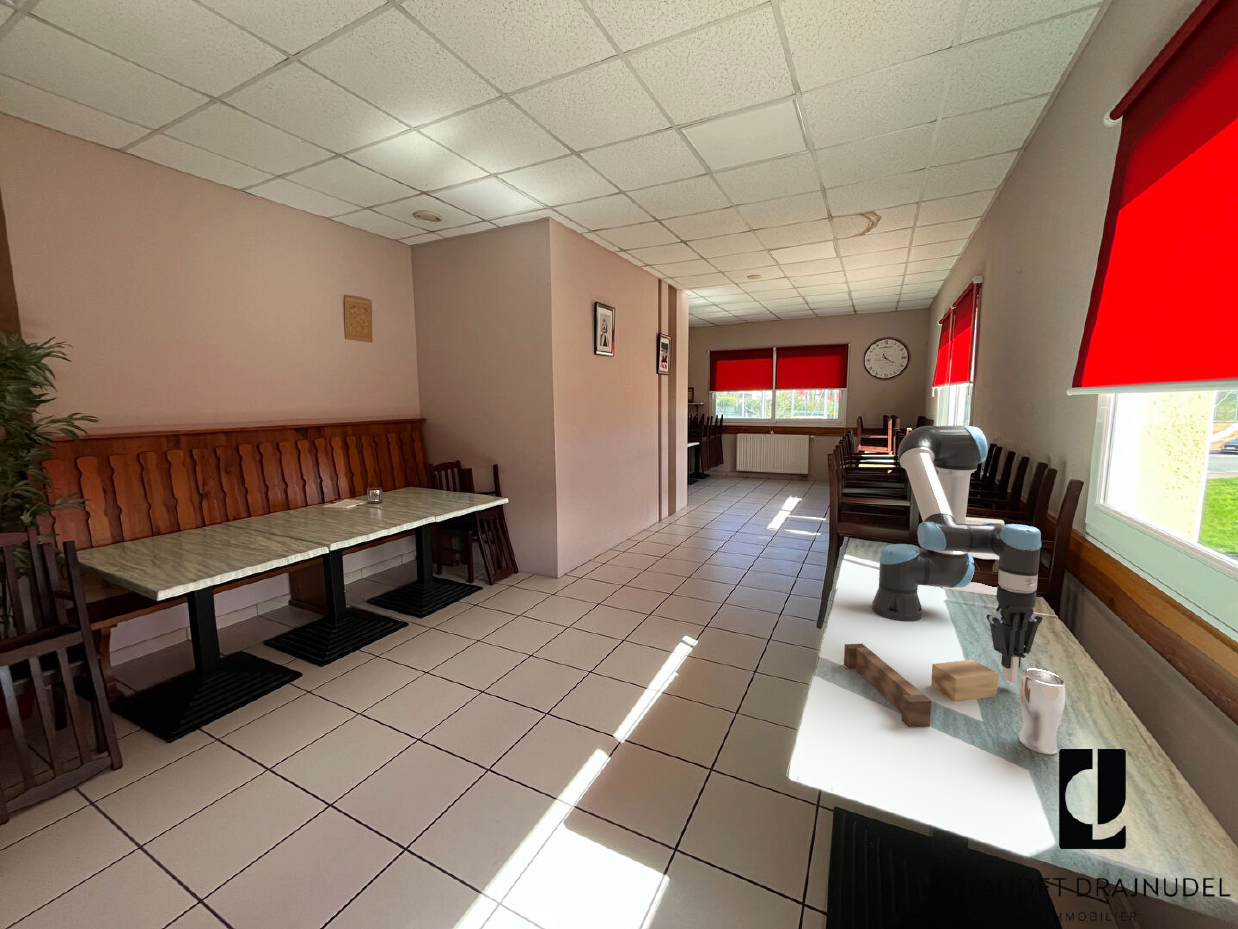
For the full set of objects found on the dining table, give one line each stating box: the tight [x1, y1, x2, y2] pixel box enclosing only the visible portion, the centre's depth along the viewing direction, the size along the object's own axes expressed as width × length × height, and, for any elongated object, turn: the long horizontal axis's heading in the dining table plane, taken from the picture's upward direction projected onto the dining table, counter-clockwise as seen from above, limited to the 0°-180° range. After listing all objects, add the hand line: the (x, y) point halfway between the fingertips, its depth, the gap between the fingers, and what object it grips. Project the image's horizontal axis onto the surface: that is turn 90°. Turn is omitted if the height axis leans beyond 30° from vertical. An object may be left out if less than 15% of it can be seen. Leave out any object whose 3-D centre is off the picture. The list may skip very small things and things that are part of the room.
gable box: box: [941, 516, 1006, 596], centre depth 190 cm, size 22×13×28 cm, turn 62°
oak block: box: [930, 659, 999, 703], centre depth 121 cm, size 7×12×6 cm, turn 100°
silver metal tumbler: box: [1018, 668, 1066, 756], centre depth 101 cm, size 7×7×15 cm
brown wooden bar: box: [843, 643, 932, 728], centre depth 120 cm, size 27×5×6 cm, turn 4°
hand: (1009, 679), depth 122 cm, fingers closed
